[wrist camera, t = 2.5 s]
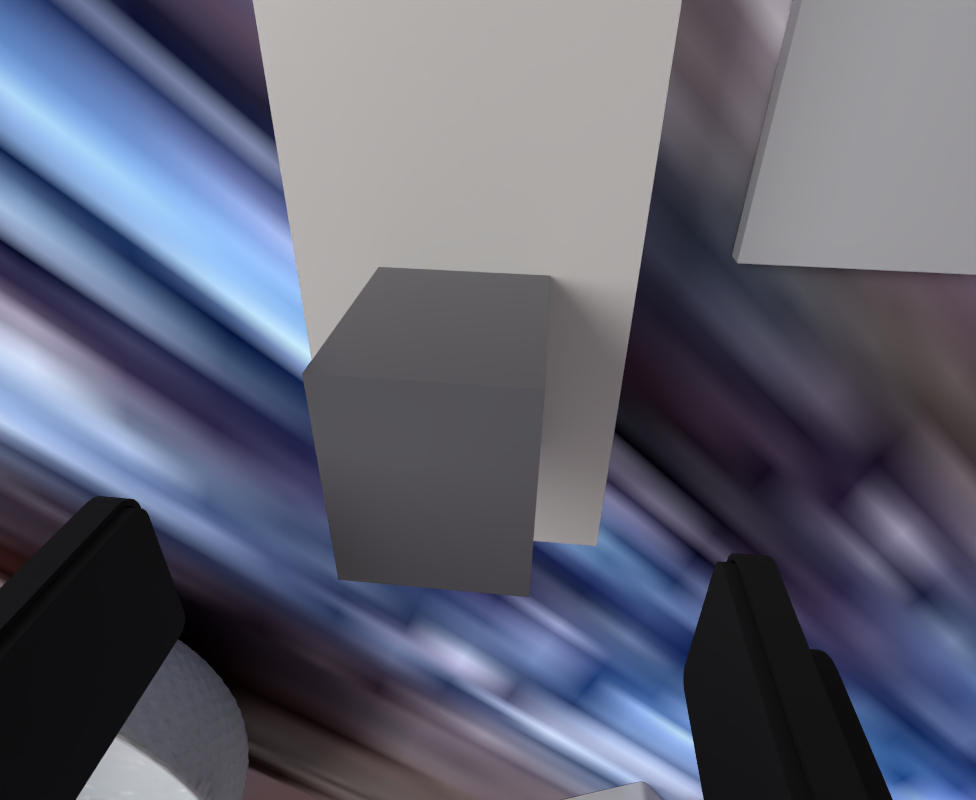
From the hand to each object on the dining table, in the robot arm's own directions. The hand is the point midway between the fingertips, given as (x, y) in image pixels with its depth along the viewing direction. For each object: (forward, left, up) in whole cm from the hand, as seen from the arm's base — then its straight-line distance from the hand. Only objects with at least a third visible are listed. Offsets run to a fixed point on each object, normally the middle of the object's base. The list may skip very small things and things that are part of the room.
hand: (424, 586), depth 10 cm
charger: (-1, 0, -8) cm, 8 cm away
